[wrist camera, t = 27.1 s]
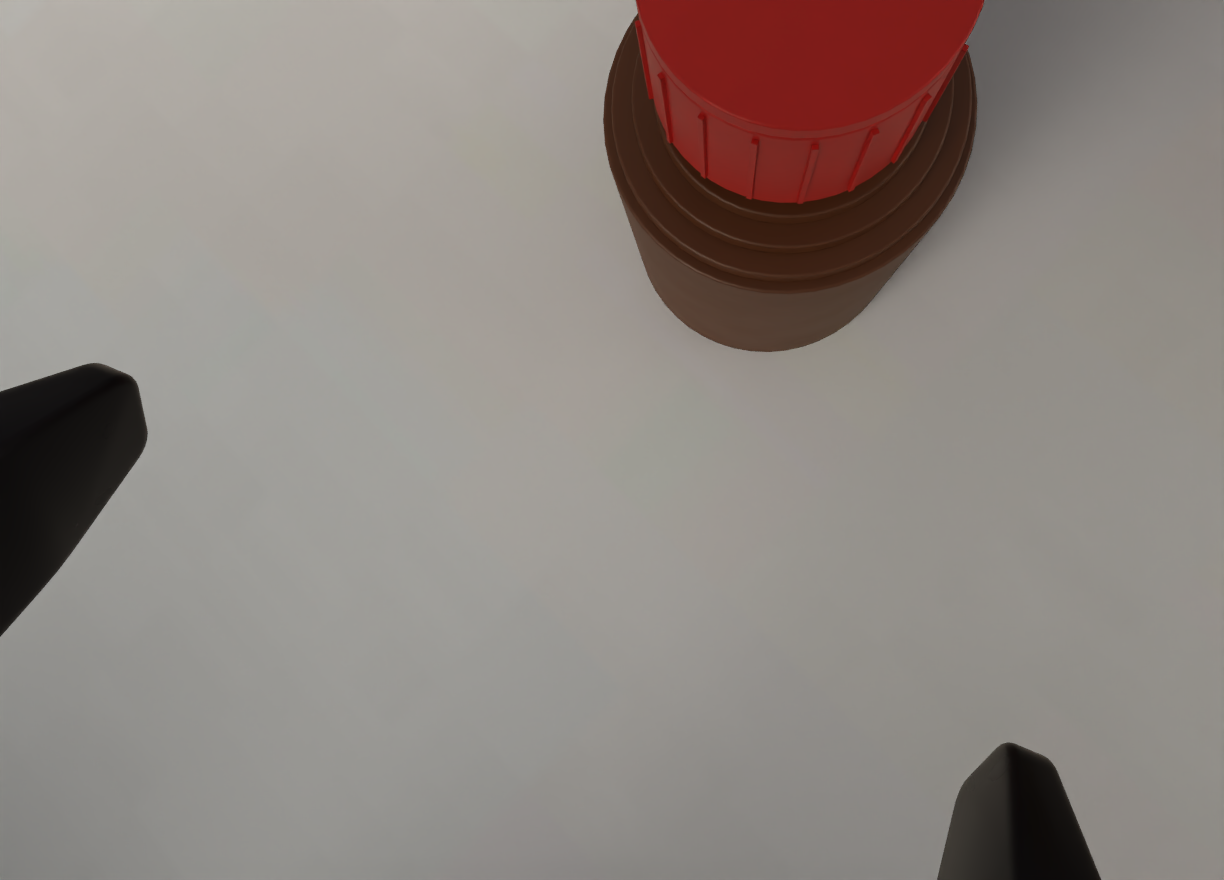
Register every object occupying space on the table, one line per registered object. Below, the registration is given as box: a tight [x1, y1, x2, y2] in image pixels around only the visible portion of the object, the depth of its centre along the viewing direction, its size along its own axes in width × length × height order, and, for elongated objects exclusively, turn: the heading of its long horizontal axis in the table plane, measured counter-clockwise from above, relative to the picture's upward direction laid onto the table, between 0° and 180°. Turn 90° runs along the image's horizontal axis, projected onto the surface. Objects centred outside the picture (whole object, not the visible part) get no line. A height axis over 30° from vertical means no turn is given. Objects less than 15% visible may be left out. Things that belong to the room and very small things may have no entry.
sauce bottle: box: [603, 14, 977, 352], centre depth 17 cm, size 6×6×11 cm
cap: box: [635, 0, 984, 204], centre depth 13 cm, size 4×4×3 cm
